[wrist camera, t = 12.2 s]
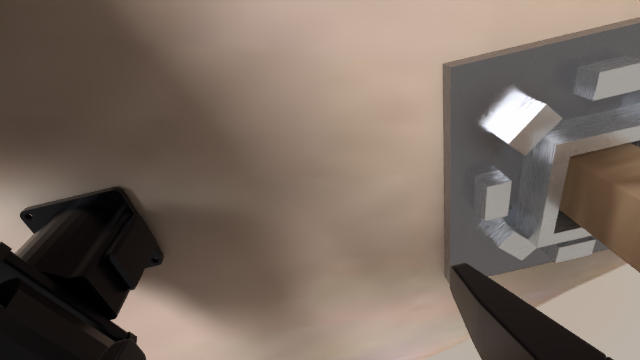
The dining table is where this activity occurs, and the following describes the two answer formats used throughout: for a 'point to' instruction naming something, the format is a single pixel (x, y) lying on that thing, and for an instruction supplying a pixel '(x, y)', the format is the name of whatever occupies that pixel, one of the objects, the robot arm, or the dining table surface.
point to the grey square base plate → (531, 142)
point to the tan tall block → (607, 198)
